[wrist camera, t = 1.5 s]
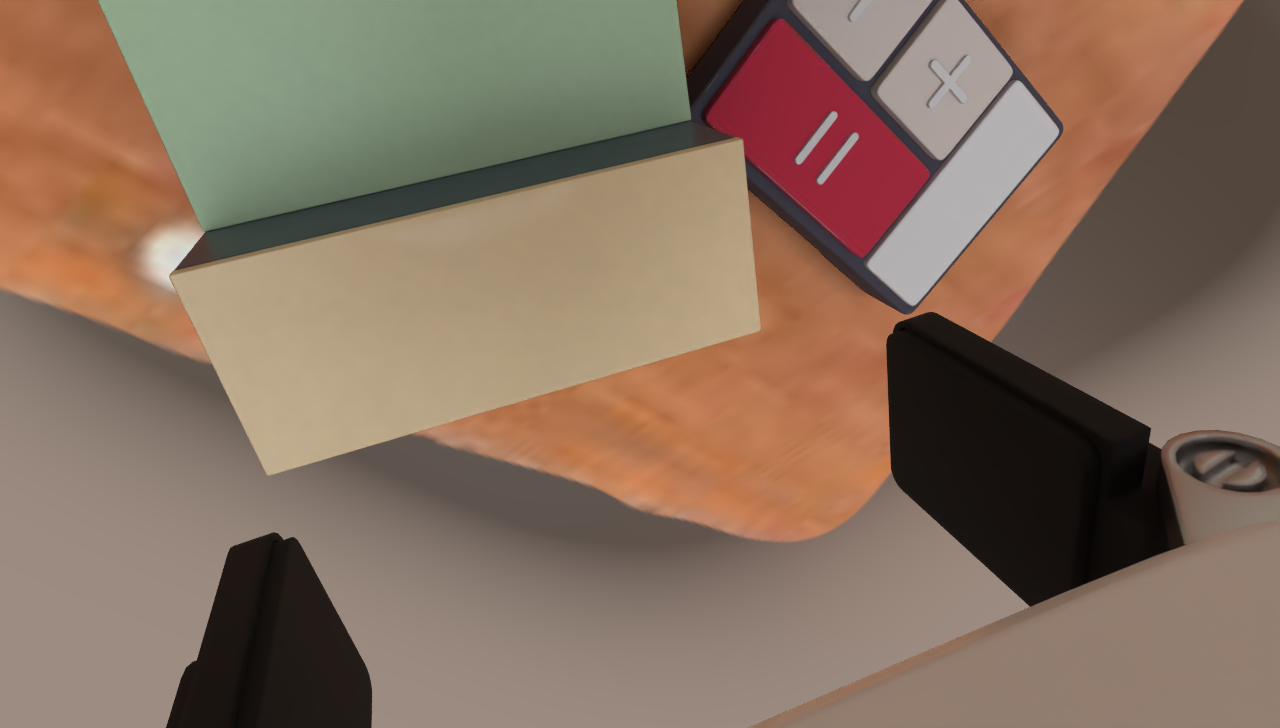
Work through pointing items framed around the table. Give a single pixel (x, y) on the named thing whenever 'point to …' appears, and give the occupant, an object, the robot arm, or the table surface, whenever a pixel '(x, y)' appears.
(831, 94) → the calculator
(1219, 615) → the robot arm
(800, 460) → the table surface
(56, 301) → the table surface
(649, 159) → the step rack
